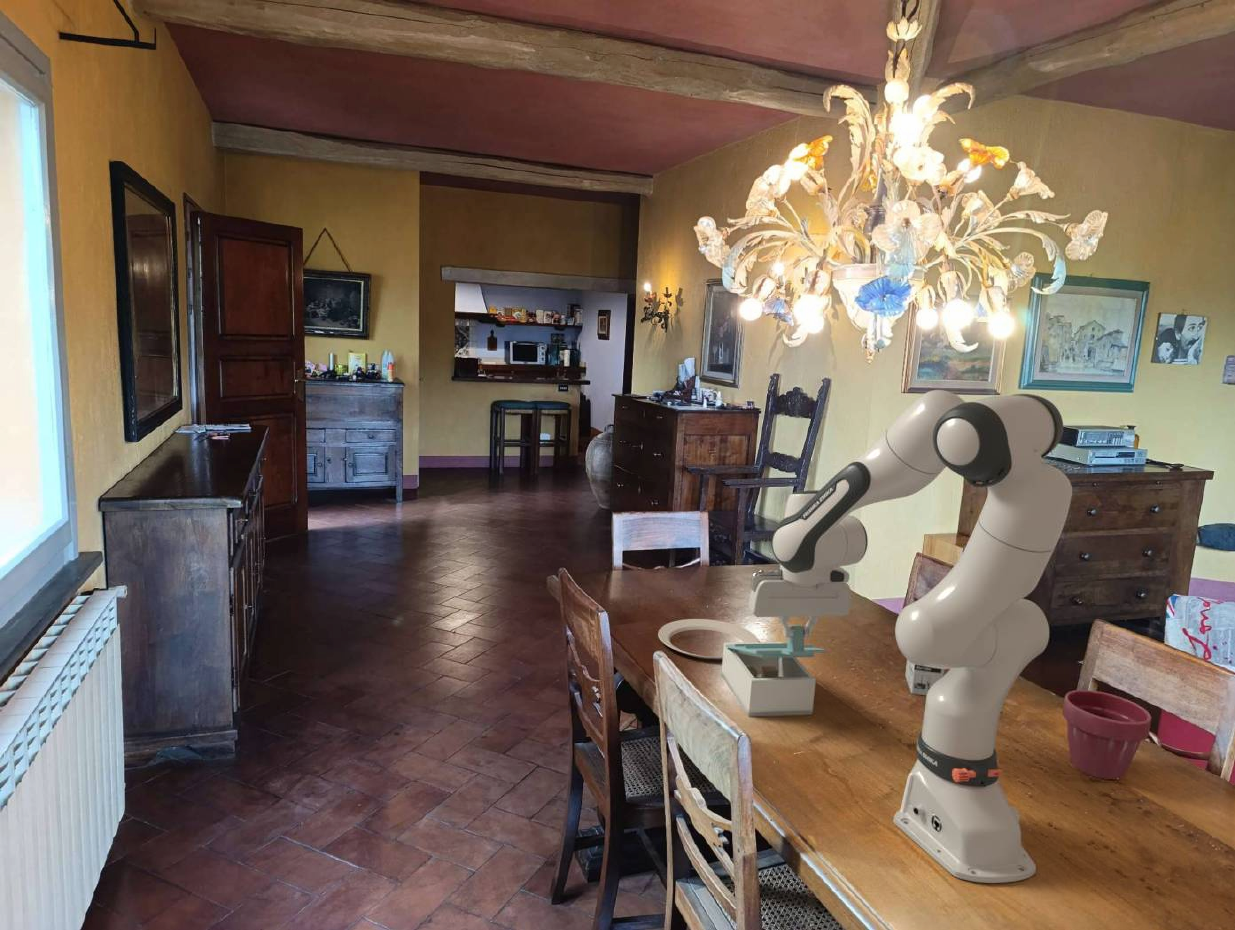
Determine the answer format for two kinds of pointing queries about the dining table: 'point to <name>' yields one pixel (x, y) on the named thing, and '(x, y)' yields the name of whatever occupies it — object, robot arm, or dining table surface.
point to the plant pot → (1103, 732)
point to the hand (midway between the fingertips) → (797, 636)
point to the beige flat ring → (705, 624)
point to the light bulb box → (921, 677)
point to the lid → (780, 647)
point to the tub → (768, 683)
